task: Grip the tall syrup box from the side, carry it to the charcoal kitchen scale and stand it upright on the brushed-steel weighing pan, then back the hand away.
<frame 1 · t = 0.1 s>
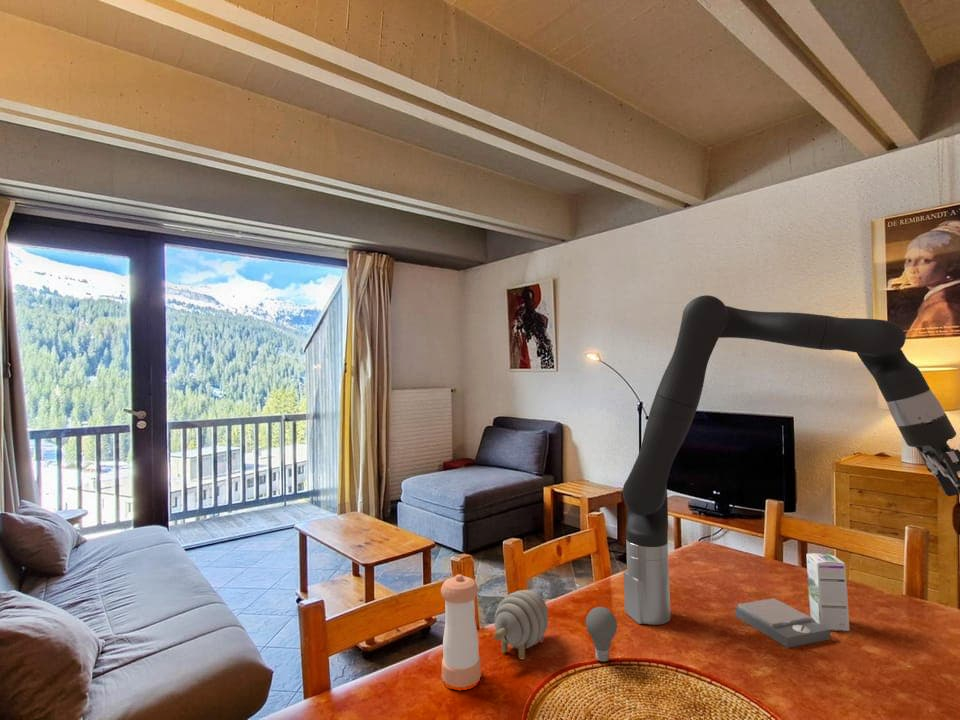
salt shaker: (461, 680, 93), on the table
light bulb: (602, 660, 98), on the table
syrup box: (828, 625, 109), on the table
toy sheep: (520, 648, 103), on the table
scale pan: (773, 612, 110), point 2 cm above the table, slide at 0.4 cm
scale base: (780, 627, 109), on the table
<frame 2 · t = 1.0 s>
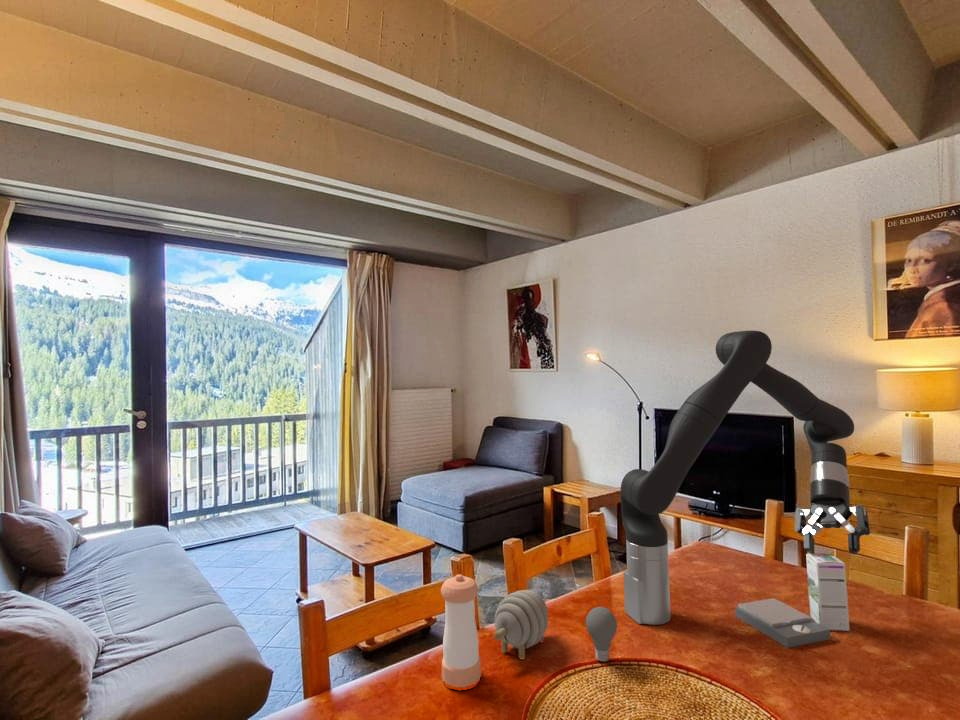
hand: (831, 552, 109), 16 cm above the table, tool tilted 40°, fingers open, 8 cm apart
syrup box: (828, 625, 109), on the table, touching gripper
everything else where it was.
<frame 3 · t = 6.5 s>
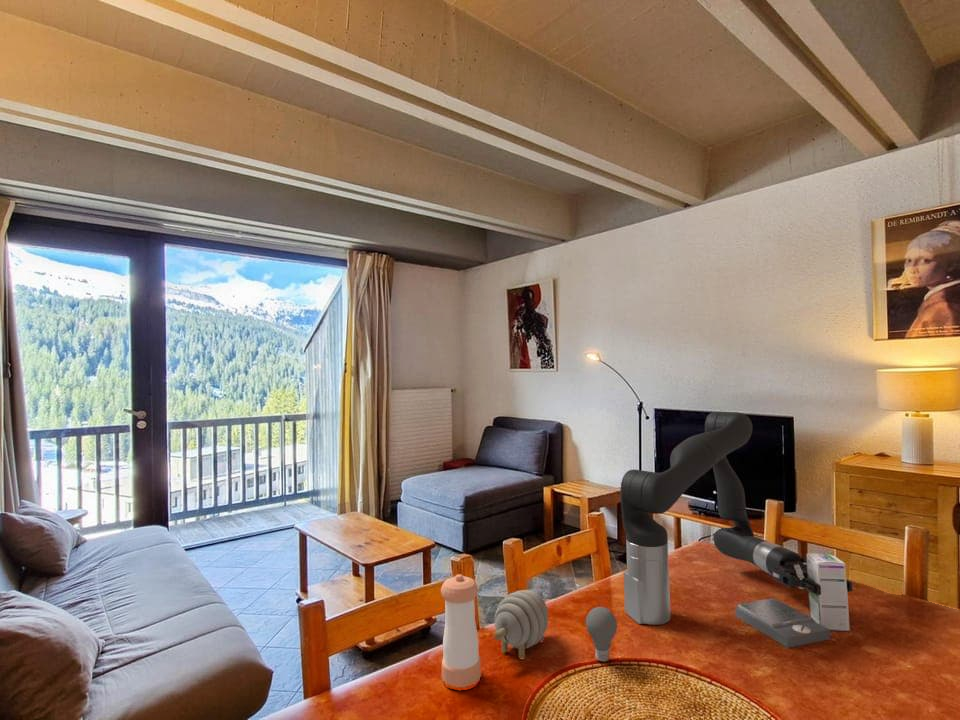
hand: (835, 588, 108), 9 cm above the table, tool horizontal, fingers closed on syrup box, 7 cm apart
syrup box: (829, 625, 109), on the table, touching gripper
everything else where it was.
when the fingers open (12 cm above the table, at t = 11.8 s): syrup box moves 1 cm, resting on scale pan.
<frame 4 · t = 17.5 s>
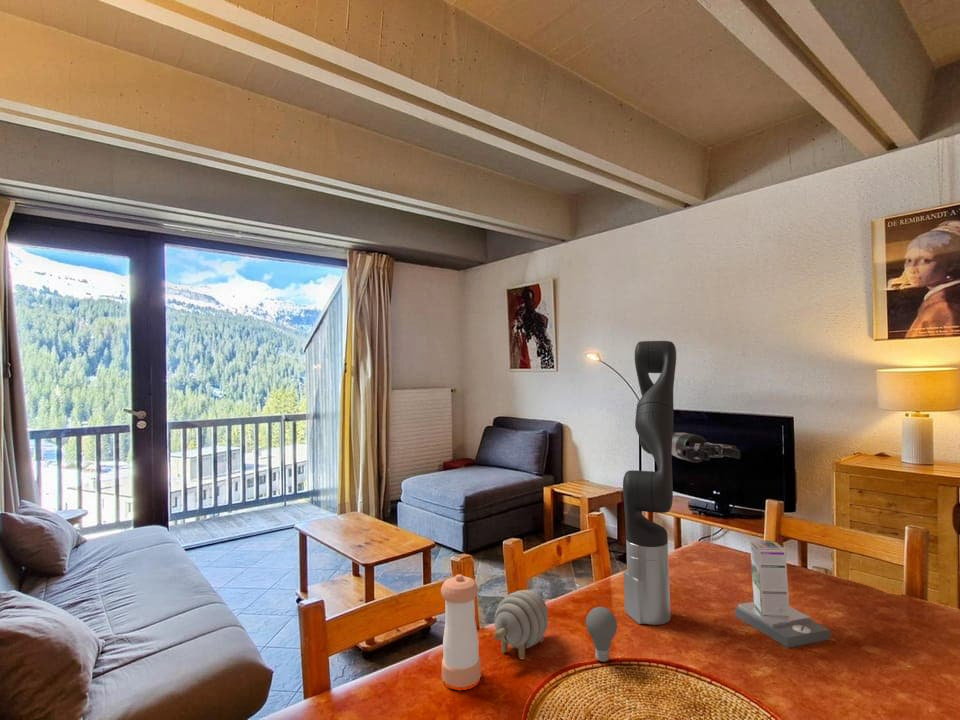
hand: (723, 455, 126), 35 cm above the table, tool horizontal, fingers open, 8 cm apart
syrup box: (770, 611, 111), point 3 cm above the table, touching scale pan
scale pan: (773, 612, 110), point 2 cm above the table, slide at 0.4 cm, touching scale base, syrup box
everything else where it was.
at the end: syrup box inside the target area on the scale base (0.4 cm from its centre), point 2.6 cm above the scale base's base; syrup box tilted 0°; the gripper is holding nothing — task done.
